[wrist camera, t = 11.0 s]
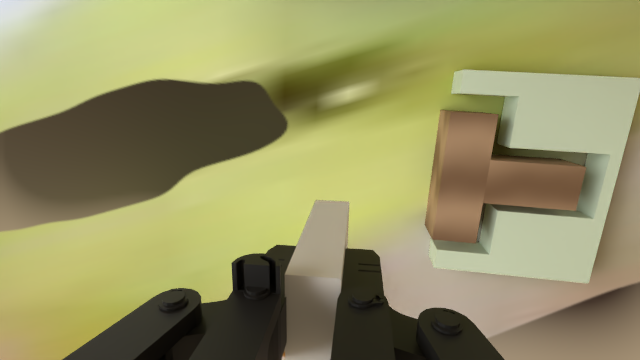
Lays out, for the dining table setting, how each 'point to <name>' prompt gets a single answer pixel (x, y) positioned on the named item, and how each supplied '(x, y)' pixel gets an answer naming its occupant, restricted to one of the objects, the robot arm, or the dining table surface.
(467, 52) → the dining table surface
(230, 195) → the dining table surface
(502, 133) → the slot frame
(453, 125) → the t block
